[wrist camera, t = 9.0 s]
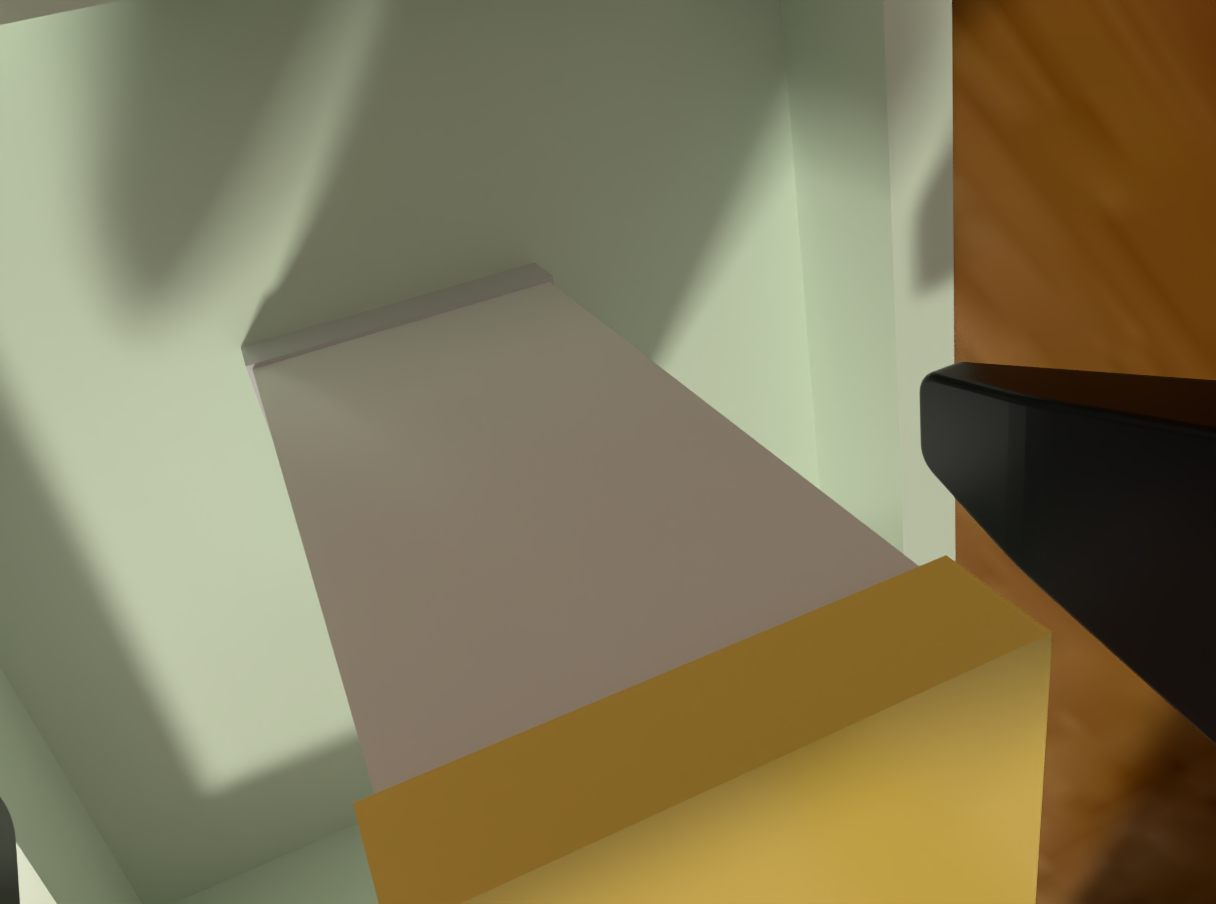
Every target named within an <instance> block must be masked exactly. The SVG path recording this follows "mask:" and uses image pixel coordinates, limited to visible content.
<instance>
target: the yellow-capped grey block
mask: <svg viewBox="0 0 1216 904" xmlns="http://www.w3.org/2000/svg"><path fill="white" fill-rule="evenodd" d="M241 351H242V355H243V358H244V362H245V366H246V369H247V371H248V374H249V377H250V380H251V382H252V385H253V388H254V391H255V393H256V396H257V399H258V402H259V404H260V407H261V410H262V413H263V415H264V418H265V421H266V424H267V426H268V429H269V432H270V435H271V437H272V440H273V443H274V446H275V450H276V453H277V457H278V460H279V464H280V467H281V471H282V474H283V478H284V481H285V485H286V488H287V491H288V495H289V498H290V502H291V505H292V509H293V512H294V516H295V519H296V523H297V526H298V530H299V533H300V537H301V540H302V544H303V547H304V551H305V554H306V557H307V561H308V564H309V568H310V571H311V575H312V578H313V582H314V585H315V589H316V592H317V596H318V599H319V603H320V606H321V610H322V613H323V617H324V620H325V623H326V627H327V630H328V634H329V637H330V641H331V644H332V648H333V651H334V655H335V658H336V662H337V665H338V669H339V672H340V676H341V679H342V683H343V686H344V690H345V693H346V696H347V700H348V703H349V707H350V710H351V714H352V717H353V721H354V724H355V728H356V731H357V735H358V738H359V742H360V745H361V749H362V752H363V756H364V759H365V762H366V766H367V769H368V773H369V776H370V780H371V783H372V787H373V790H374V794H373V795H371V796H368V797H366V798H363V799H361V800H359V801H356V802H354V803H353V806H354V810H355V814H356V818H357V822H358V825H359V829H360V833H361V837H362V841H363V845H364V849H365V853H366V856H367V860H368V864H369V868H370V872H371V876H372V880H373V883H374V887H375V891H376V895H377V899H378V903H379V904H1035V901H1036V885H1037V870H1038V854H1039V838H1040V822H1041V806H1042V790H1043V775H1044V759H1045V743H1046V727H1047V711H1048V695H1049V680H1050V664H1051V648H1052V632H1051V631H1050V630H1048V629H1047V628H1045V627H1044V626H1043V625H1041V624H1040V623H1039V622H1037V621H1036V620H1035V619H1033V618H1032V617H1030V616H1029V615H1028V614H1026V613H1025V612H1024V611H1022V610H1021V609H1019V608H1018V607H1017V606H1015V605H1014V604H1013V603H1011V602H1010V601H1008V600H1007V599H1006V598H1004V597H1003V596H1002V595H1000V594H999V593H998V592H996V591H995V590H993V589H992V588H991V587H989V586H988V585H987V584H985V583H984V582H982V581H981V580H980V579H978V578H977V577H976V576H974V575H973V574H971V573H970V572H969V571H967V570H966V569H965V568H963V567H962V566H960V565H959V564H958V563H956V562H955V561H954V560H952V559H951V558H950V557H948V556H947V555H945V556H943V557H940V558H938V559H936V560H933V561H931V562H928V563H926V564H924V565H921V566H918V565H917V564H916V563H914V562H913V561H912V560H911V559H909V558H908V557H907V556H905V555H904V554H903V553H901V552H900V551H899V550H898V549H896V548H895V547H894V546H892V545H891V544H890V543H888V542H887V541H886V540H885V539H883V538H882V537H881V536H879V535H878V534H877V533H875V532H874V531H873V530H872V529H870V528H869V527H868V526H866V525H865V524H864V523H862V522H861V521H860V520H858V519H857V518H856V517H855V516H853V515H852V514H851V513H849V512H848V511H847V510H845V509H844V508H843V507H842V506H840V505H839V504H838V503H836V502H835V501H834V500H832V499H831V498H830V497H829V496H827V495H826V494H825V493H823V492H822V491H821V490H819V489H818V488H817V487H816V486H814V485H813V484H812V483H810V482H809V481H808V480H806V479H805V478H804V477H803V476H801V475H800V474H799V473H797V472H796V471H795V470H793V469H792V468H791V467H790V466H788V465H787V464H786V463H784V462H783V461H782V460H780V459H779V458H778V457H777V456H775V455H774V454H773V453H771V452H770V451H769V450H767V449H766V448H765V447H764V446H762V445H761V444H760V443H758V442H757V441H756V440H754V439H753V438H752V437H751V436H749V435H748V434H747V433H745V432H744V431H743V430H741V429H740V428H739V427H738V426H736V425H735V424H734V423H732V422H731V421H730V420H728V419H727V418H726V417H725V416H723V415H722V414H721V413H719V412H718V411H717V410H715V409H714V408H713V407H712V406H710V405H709V404H708V403H706V402H705V401H704V400H702V399H701V398H700V397H699V396H697V395H696V394H695V393H693V392H692V391H691V390H689V389H688V388H687V387H686V386H684V385H683V384H682V383H680V382H679V381H678V380H676V379H675V378H674V377H673V376H671V375H670V374H669V373H667V372H666V371H665V370H663V369H662V368H661V367H660V366H658V365H657V364H656V363H654V362H653V361H652V360H650V359H649V358H648V357H647V356H645V355H644V354H643V353H641V352H640V351H639V350H637V349H636V348H635V347H634V346H632V345H631V344H630V343H628V342H627V341H626V340H624V339H623V338H622V337H621V336H619V335H618V334H617V333H615V332H614V331H613V330H611V329H610V328H609V327H608V326H606V325H605V324H604V323H602V322H601V321H600V320H598V319H597V318H596V317H595V316H593V315H592V314H591V313H589V312H588V311H587V310H585V309H584V308H583V307H581V306H580V305H579V304H578V303H576V302H575V301H574V300H572V299H571V298H570V297H568V296H567V295H566V294H565V293H563V292H562V291H561V290H559V289H558V288H557V287H555V285H554V280H553V276H552V275H551V274H549V273H548V272H547V271H545V270H544V269H543V268H541V267H540V266H539V265H537V264H536V263H532V264H528V265H525V266H521V267H518V268H514V269H511V270H507V271H504V272H500V273H497V274H494V275H490V276H487V277H483V278H480V279H476V280H473V281H469V282H466V283H462V284H459V285H455V286H452V287H448V288H445V289H441V290H438V291H435V292H431V293H428V294H424V295H421V296H417V297H414V298H410V299H407V300H403V301H400V302H396V303H393V304H389V305H386V306H382V307H379V308H376V309H372V310H369V311H365V312H362V313H358V314H355V315H351V316H348V317H344V318H341V319H337V320H334V321H330V322H327V323H323V324H320V325H317V326H313V327H310V328H306V329H303V330H299V331H296V332H292V333H289V334H285V335H282V336H278V337H275V338H271V339H268V340H264V341H261V342H258V343H254V344H251V345H247V346H244V347H241Z"/></svg>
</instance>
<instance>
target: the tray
mask: <svg viewBox="0 0 1216 904" xmlns="http://www.w3.org/2000/svg"><path fill="white" fill-rule="evenodd" d="M532 263H536V264H537V265H539V266H540V267H541V268H543V269H544V270H545V271H547V272H548V273H549V274H551V275H552V276H553V280H554V285H555V287H557V288H558V289H559V290H561V291H562V292H563V293H565V294H566V295H567V296H568V297H570V298H571V299H572V300H574V301H575V302H576V303H578V304H579V305H580V306H581V307H583V308H584V309H585V310H587V311H588V312H589V313H591V314H592V315H593V316H595V317H596V318H597V319H598V320H600V321H601V322H602V323H604V324H605V325H606V326H608V327H609V328H610V329H611V330H613V331H614V332H615V333H617V334H618V335H619V336H621V337H622V338H623V339H624V340H626V341H627V342H628V343H630V344H631V345H632V346H634V347H635V348H636V349H637V350H639V351H640V352H641V353H643V354H644V355H645V356H647V357H648V358H649V359H650V360H652V361H653V362H654V363H656V364H657V365H658V366H660V367H661V368H662V369H663V370H665V371H666V372H667V373H669V374H670V375H671V376H673V377H674V378H675V379H676V380H678V381H679V382H680V383H682V384H683V385H684V386H686V387H687V388H688V389H689V390H691V391H692V392H693V393H695V394H696V395H697V396H699V397H700V398H701V399H702V400H704V401H705V402H706V403H708V404H709V405H710V406H712V407H713V408H714V409H715V410H717V411H718V412H719V413H721V414H722V415H723V416H725V417H726V418H727V419H728V420H730V421H731V422H732V423H734V424H735V425H736V426H738V427H739V428H740V429H741V430H743V431H744V432H745V433H747V434H748V435H749V436H751V437H752V438H753V439H754V440H756V441H757V442H758V443H760V444H761V445H762V446H764V447H765V448H766V449H767V450H769V451H770V452H771V453H773V454H774V455H775V456H777V457H778V458H779V459H780V460H782V461H783V462H784V463H786V464H787V465H788V466H790V467H791V468H792V469H793V470H795V471H796V472H797V473H799V474H800V475H801V476H803V477H804V478H805V479H806V480H808V481H809V482H810V483H812V484H813V485H814V486H816V487H817V488H818V489H819V490H821V491H822V492H823V493H825V494H826V495H827V496H829V497H830V498H831V499H832V500H834V501H835V502H836V503H838V504H839V505H840V506H842V507H843V508H844V509H845V510H847V511H848V512H849V513H851V514H852V515H853V516H855V517H856V518H857V519H858V520H860V521H861V522H862V523H864V524H865V525H866V526H868V527H869V528H870V529H872V530H873V531H874V532H875V533H877V534H878V535H879V536H881V537H882V538H883V539H885V540H886V541H887V542H888V543H890V544H891V545H892V546H894V547H895V548H896V549H898V550H899V551H900V552H901V553H903V554H904V555H905V556H907V557H908V558H909V559H911V560H912V561H913V562H914V563H916V564H917V565H918V566H921V565H924V564H926V563H928V562H931V561H933V560H936V559H938V558H940V557H943V556H945V555H947V556H948V557H950V558H951V559H952V560H954V561H955V497H954V496H953V495H952V494H951V493H950V492H949V490H948V489H947V488H946V487H945V486H944V485H943V484H942V483H941V482H940V481H939V479H938V478H937V477H936V476H935V475H934V474H933V473H932V472H931V470H930V469H929V467H928V466H927V464H926V462H925V460H924V457H923V454H922V450H921V437H920V395H919V392H920V385H921V382H922V380H923V378H924V377H925V376H926V375H927V374H929V373H931V372H933V371H936V370H938V369H941V368H944V367H946V366H949V365H952V364H954V261H953V97H952V0H0V797H1V798H2V800H3V801H4V803H5V805H6V806H7V808H8V811H9V813H10V815H11V818H12V821H13V825H14V829H15V836H16V850H17V865H18V880H19V895H20V904H379V903H378V899H377V895H376V891H375V887H374V883H373V880H372V876H371V872H370V868H369V864H368V860H367V856H366V853H365V849H364V845H363V841H362V837H361V833H360V829H359V825H358V822H357V818H356V814H355V810H354V806H353V803H354V802H356V801H359V800H361V799H363V798H366V797H368V796H371V795H373V794H374V790H373V787H372V783H371V780H370V776H369V773H368V769H367V766H366V762H365V759H364V756H363V752H362V749H361V745H360V742H359V738H358V735H357V731H356V728H355V724H354V721H353V717H352V714H351V710H350V707H349V703H348V700H347V696H346V693H345V690H344V686H343V683H342V679H341V676H340V672H339V669H338V665H337V662H336V658H335V655H334V651H333V648H332V644H331V641H330V637H329V634H328V630H327V627H326V623H325V620H324V617H323V613H322V610H321V606H320V603H319V599H318V596H317V592H316V589H315V585H314V582H313V578H312V575H311V571H310V568H309V564H308V561H307V557H306V554H305V551H304V547H303V544H302V540H301V537H300V533H299V530H298V526H297V523H296V519H295V516H294V512H293V509H292V505H291V502H290V498H289V495H288V491H287V488H286V485H285V481H284V478H283V474H282V471H281V467H280V464H279V460H278V457H277V453H276V450H275V446H274V443H273V440H272V437H271V435H270V432H269V429H268V426H267V424H266V421H265V418H264V415H263V413H262V410H261V407H260V404H259V402H258V399H257V396H256V393H255V391H254V388H253V385H252V382H251V380H250V377H249V374H248V371H247V369H246V366H245V362H244V358H243V355H242V351H241V347H244V346H247V345H251V344H254V343H258V342H261V341H264V340H268V339H271V338H275V337H278V336H282V335H285V334H289V333H292V332H296V331H299V330H303V329H306V328H310V327H313V326H317V325H320V324H323V323H327V322H330V321H334V320H337V319H341V318H344V317H348V316H351V315H355V314H358V313H362V312H365V311H369V310H372V309H376V308H379V307H382V306H386V305H389V304H393V303H396V302H400V301H403V300H407V299H410V298H414V297H417V296H421V295H424V294H428V293H431V292H435V291H438V290H441V289H445V288H448V287H452V286H455V285H459V284H462V283H466V282H469V281H473V280H476V279H480V278H483V277H487V276H490V275H494V274H497V273H500V272H504V271H507V270H511V269H514V268H518V267H521V266H525V265H528V264H532Z"/></svg>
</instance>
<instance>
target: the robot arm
mask: <svg viewBox="0 0 1216 904" xmlns="http://www.w3.org/2000/svg"><path fill="white" fill-rule="evenodd" d="M919 395H920V437H921V450H922V454H923V457H924V460H925V462H926V464H927V466H928V467H929V469H930V470H931V472H932V473H933V474H934V475H935V476H936V477H937V478H938V479H939V481H940V482H941V483H942V484H943V485H944V486H945V487H946V488H947V489H948V490H949V492H950V493H951V494H952V495H953V496H954V497H955V498H956V499H957V500H958V502H959V503H960V504H961V505H962V506H963V507H964V508H965V509H966V510H967V512H968V513H969V514H970V515H971V516H972V517H973V518H974V519H975V520H976V521H977V523H978V524H979V525H980V526H981V527H982V528H983V529H984V530H985V531H986V533H987V534H988V535H989V536H990V537H991V538H992V539H993V540H994V541H995V543H996V544H997V545H998V546H999V547H1000V548H1001V549H1002V550H1003V551H1004V552H1005V554H1006V555H1007V556H1008V557H1009V558H1010V559H1011V560H1012V561H1013V562H1014V563H1015V564H1016V565H1017V566H1018V567H1019V568H1020V569H1021V570H1022V571H1023V572H1024V573H1025V574H1026V575H1027V576H1028V577H1029V578H1030V579H1031V580H1032V581H1033V582H1034V583H1035V584H1037V585H1038V586H1039V587H1040V588H1041V589H1042V590H1043V591H1044V592H1045V593H1046V594H1048V595H1049V596H1050V597H1051V598H1052V599H1053V600H1054V601H1055V602H1056V603H1058V604H1059V605H1060V606H1061V607H1062V608H1063V609H1064V610H1065V611H1066V612H1068V613H1069V614H1070V615H1071V616H1072V617H1073V618H1074V619H1075V620H1077V621H1078V622H1079V623H1080V624H1081V625H1082V626H1083V627H1084V628H1085V629H1087V630H1088V631H1089V632H1090V633H1091V634H1092V635H1093V636H1094V637H1095V638H1097V639H1098V640H1099V641H1100V642H1101V643H1102V644H1103V645H1104V646H1105V647H1107V648H1108V649H1109V650H1110V651H1111V652H1112V653H1113V654H1114V655H1115V656H1117V657H1118V658H1119V659H1120V660H1121V661H1122V662H1123V663H1124V664H1125V665H1127V666H1128V667H1129V668H1130V669H1131V670H1132V671H1133V672H1134V673H1136V674H1137V675H1138V676H1139V677H1140V678H1141V679H1142V680H1143V681H1144V682H1146V683H1147V684H1148V685H1149V686H1150V687H1151V688H1152V689H1153V690H1154V691H1156V692H1157V693H1158V694H1159V695H1160V696H1161V697H1162V698H1163V699H1164V700H1166V701H1167V702H1168V703H1169V704H1170V705H1171V706H1172V707H1173V708H1174V709H1176V710H1177V711H1178V712H1179V713H1180V714H1181V715H1182V716H1183V717H1184V718H1186V719H1187V720H1188V721H1189V722H1190V723H1191V724H1192V725H1193V726H1194V727H1196V728H1197V729H1198V730H1199V731H1200V732H1201V733H1202V734H1203V735H1205V736H1206V737H1207V738H1208V739H1209V740H1210V741H1211V742H1212V743H1213V744H1215V745H1216V380H1203V379H1190V378H1176V377H1162V376H1148V375H1135V374H1121V373H1107V372H1093V371H1080V370H1066V369H1052V368H1039V367H1025V366H1011V365H997V364H984V363H970V362H959V363H955V364H952V365H949V366H946V367H944V368H941V369H938V370H936V371H933V372H931V373H929V374H927V375H926V376H925V377H924V378H923V380H922V382H921V385H920V392H919ZM0 904H20V895H19V880H18V865H17V850H16V836H15V829H14V825H13V821H12V818H11V815H10V813H9V811H8V808H7V806H6V805H5V803H4V801H3V800H2V798H1V797H0Z"/></svg>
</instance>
